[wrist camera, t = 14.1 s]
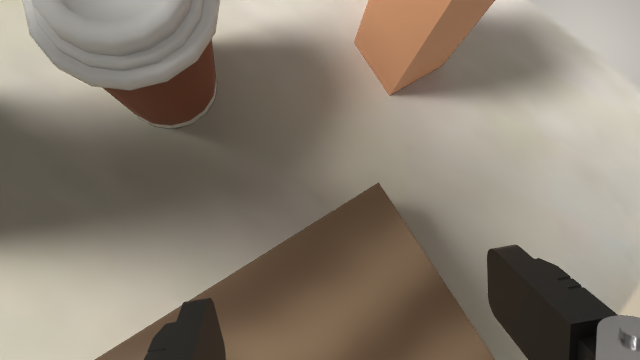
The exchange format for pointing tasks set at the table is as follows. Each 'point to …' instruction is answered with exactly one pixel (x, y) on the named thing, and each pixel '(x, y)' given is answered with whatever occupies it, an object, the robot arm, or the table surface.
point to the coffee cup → (135, 51)
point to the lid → (336, 297)
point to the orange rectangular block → (414, 36)
